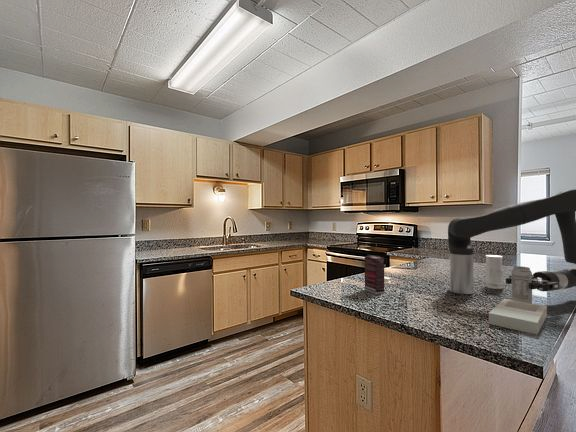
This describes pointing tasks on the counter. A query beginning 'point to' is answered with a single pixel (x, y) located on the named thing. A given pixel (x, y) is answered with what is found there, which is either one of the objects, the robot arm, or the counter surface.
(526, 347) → the counter surface
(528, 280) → the energy drink can
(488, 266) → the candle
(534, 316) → the socket block
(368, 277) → the supplement box
